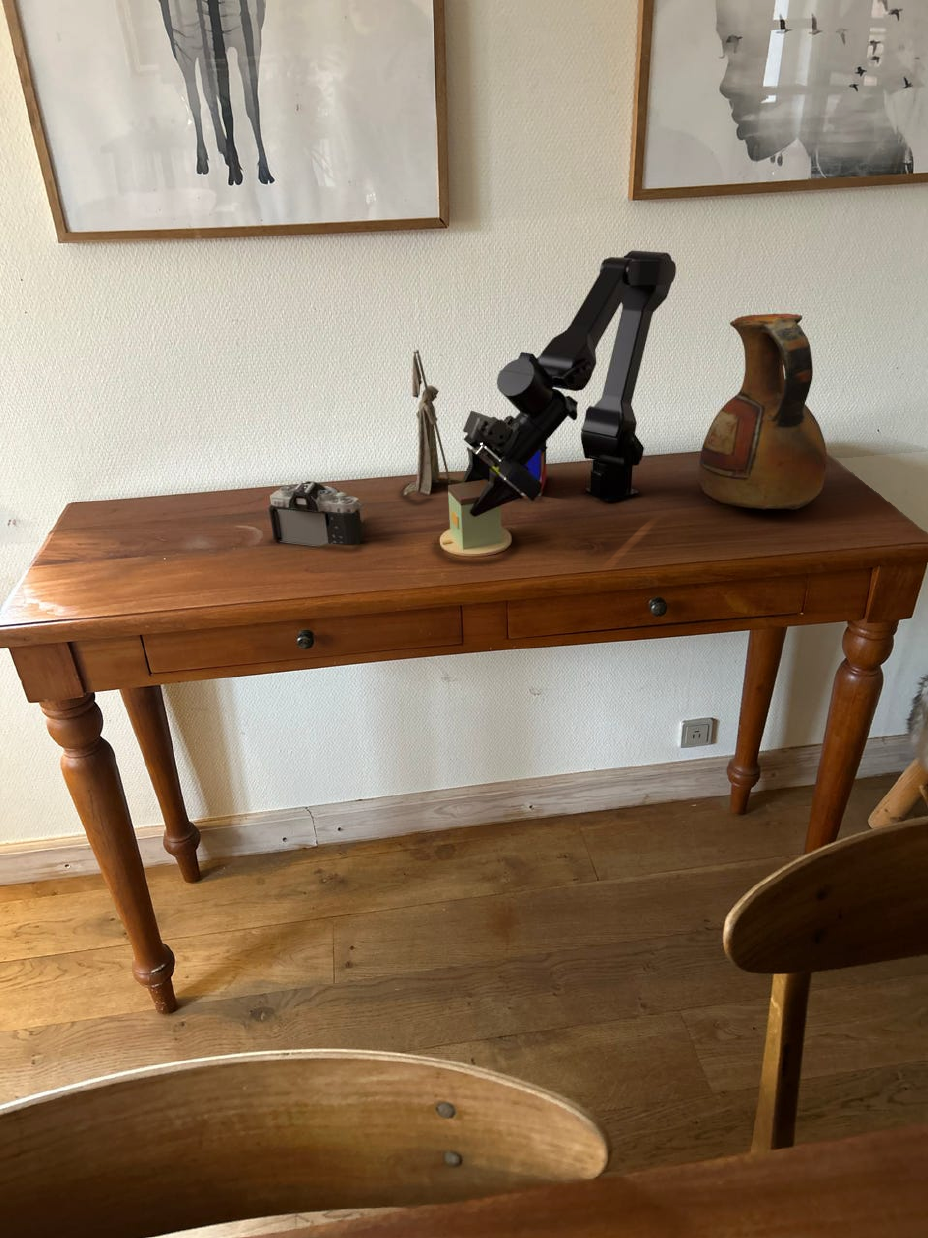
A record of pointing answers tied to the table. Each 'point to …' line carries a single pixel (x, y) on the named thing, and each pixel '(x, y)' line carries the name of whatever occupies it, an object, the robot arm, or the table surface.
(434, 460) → the wizard figurine
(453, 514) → the box
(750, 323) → the ceramic pitcher
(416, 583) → the table surface
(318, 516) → the camera
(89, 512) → the table surface
